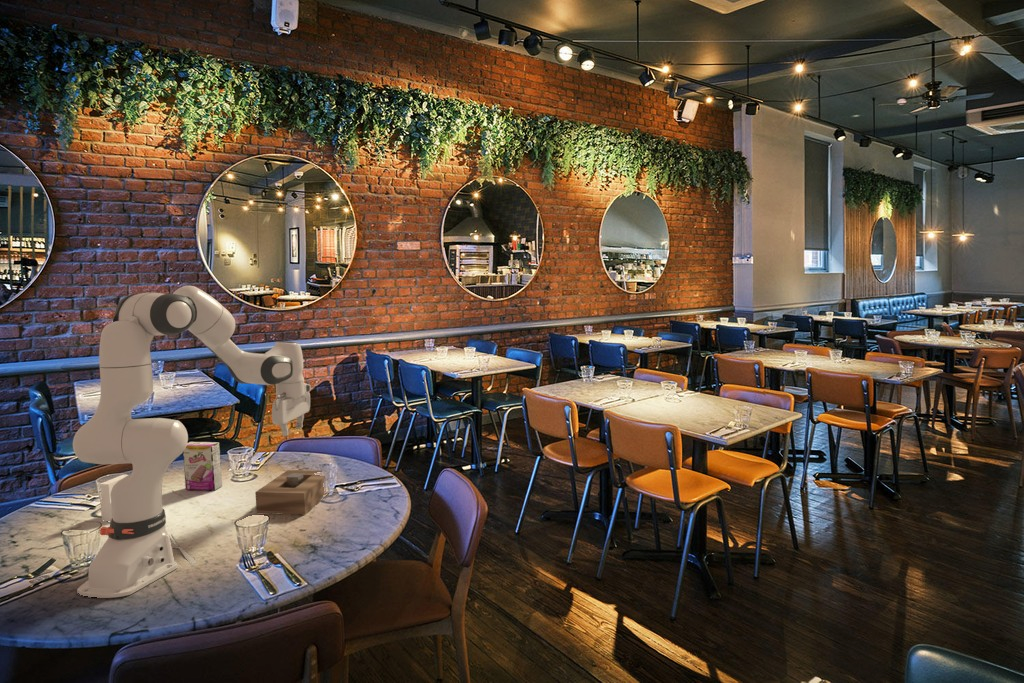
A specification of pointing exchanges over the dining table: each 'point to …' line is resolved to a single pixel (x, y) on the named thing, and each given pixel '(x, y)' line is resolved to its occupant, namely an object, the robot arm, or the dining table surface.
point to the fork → (187, 556)
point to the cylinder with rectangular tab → (108, 497)
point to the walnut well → (290, 494)
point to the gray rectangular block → (294, 480)
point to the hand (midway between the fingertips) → (292, 431)
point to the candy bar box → (202, 466)
